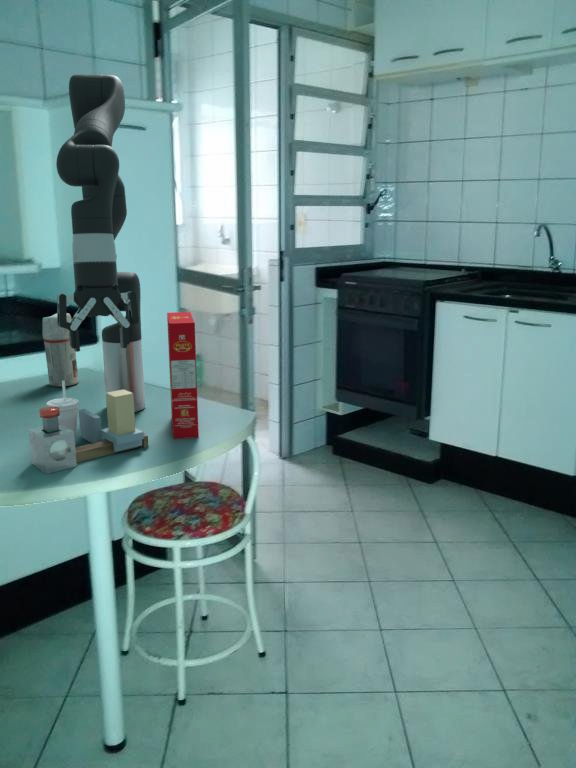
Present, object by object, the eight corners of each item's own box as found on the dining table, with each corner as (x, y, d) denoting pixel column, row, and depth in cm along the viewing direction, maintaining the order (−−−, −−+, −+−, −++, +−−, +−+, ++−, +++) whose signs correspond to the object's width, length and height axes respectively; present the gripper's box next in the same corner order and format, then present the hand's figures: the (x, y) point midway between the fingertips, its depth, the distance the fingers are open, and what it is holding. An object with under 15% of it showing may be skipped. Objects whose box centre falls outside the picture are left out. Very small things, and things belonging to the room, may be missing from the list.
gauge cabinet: (32, 463, 133) (28, 429, 131) (62, 456, 137) (59, 422, 135) (46, 474, 128) (43, 438, 126) (77, 466, 132) (74, 432, 130)
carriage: (80, 436, 147) (76, 385, 145) (110, 429, 152) (107, 379, 149) (112, 455, 136) (109, 400, 134) (144, 447, 141) (141, 393, 138)
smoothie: (88, 446, 143) (83, 380, 139) (60, 454, 138) (54, 387, 135) (71, 439, 147) (66, 375, 143) (44, 447, 142) (37, 381, 139)
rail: (64, 457, 136) (63, 446, 136) (136, 440, 146) (136, 429, 146) (74, 464, 133) (73, 453, 132) (148, 446, 143) (147, 435, 142)
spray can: (67, 388, 187) (61, 315, 182) (41, 386, 189) (35, 314, 184) (85, 381, 195) (79, 311, 190) (59, 379, 197) (53, 310, 192)
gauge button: (39, 444, 132) (36, 408, 130) (58, 440, 134) (54, 405, 132) (47, 449, 129) (43, 413, 127) (65, 445, 131) (62, 409, 129)
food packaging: (171, 418, 161) (167, 312, 155) (194, 417, 162) (190, 312, 156) (173, 438, 147) (168, 323, 141) (198, 437, 148) (194, 322, 142)
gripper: (128, 260, 131) (133, 345, 133) (50, 261, 124) (57, 350, 127) (139, 259, 124) (144, 348, 127) (57, 260, 118) (64, 354, 120)
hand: (100, 349), depth 127 cm, fingers open, 8 cm apart
